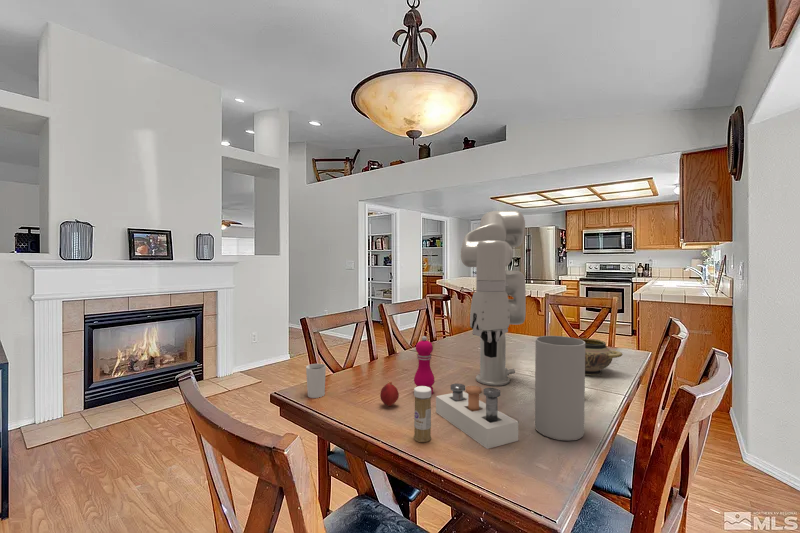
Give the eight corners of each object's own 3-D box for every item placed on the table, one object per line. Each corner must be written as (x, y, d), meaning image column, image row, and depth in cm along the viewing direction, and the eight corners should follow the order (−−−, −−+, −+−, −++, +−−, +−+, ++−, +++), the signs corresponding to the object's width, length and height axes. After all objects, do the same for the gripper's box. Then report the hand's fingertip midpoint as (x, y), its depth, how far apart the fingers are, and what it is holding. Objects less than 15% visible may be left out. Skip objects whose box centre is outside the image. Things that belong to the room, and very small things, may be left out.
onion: (385, 411, 120) (385, 385, 119) (377, 404, 125) (377, 380, 124) (401, 407, 122) (401, 382, 122) (393, 401, 127) (393, 377, 127)
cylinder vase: (559, 445, 98) (560, 347, 97) (525, 425, 109) (525, 338, 108) (594, 436, 103) (596, 343, 102) (558, 418, 114) (559, 334, 113)
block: (463, 406, 123) (463, 391, 123) (518, 440, 100) (518, 421, 100) (435, 412, 119) (435, 396, 119) (487, 448, 96) (487, 429, 96)
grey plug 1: (459, 408, 120) (459, 382, 119) (468, 413, 116) (468, 387, 115) (447, 410, 118) (447, 384, 118) (455, 416, 114) (455, 389, 114)
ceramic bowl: (623, 380, 158) (624, 343, 160) (618, 380, 143) (620, 339, 146) (560, 370, 172) (562, 336, 174) (550, 369, 158) (552, 332, 160)
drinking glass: (316, 390, 138) (316, 362, 138) (330, 394, 134) (329, 365, 134) (302, 395, 133) (301, 367, 132) (315, 400, 129) (315, 370, 129)
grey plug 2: (493, 415, 105) (493, 386, 105) (503, 422, 101) (504, 391, 101) (479, 418, 103) (480, 389, 103) (490, 425, 99) (490, 394, 99)
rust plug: (475, 411, 112) (475, 384, 112) (484, 417, 108) (484, 389, 108) (462, 414, 110) (462, 386, 110) (471, 420, 106) (471, 391, 106)
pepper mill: (433, 397, 131) (433, 338, 131) (412, 395, 133) (412, 337, 132) (435, 389, 139) (435, 334, 138) (415, 388, 140) (415, 333, 139)
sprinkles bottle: (410, 439, 101) (410, 388, 101) (420, 433, 105) (420, 384, 104) (424, 444, 98) (424, 392, 98) (434, 438, 102) (434, 387, 101)
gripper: (503, 285, 108) (503, 350, 109) (458, 287, 102) (458, 356, 102) (522, 287, 102) (522, 356, 102) (475, 289, 95) (475, 363, 96)
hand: (490, 356), depth 102 cm, fingers closed
